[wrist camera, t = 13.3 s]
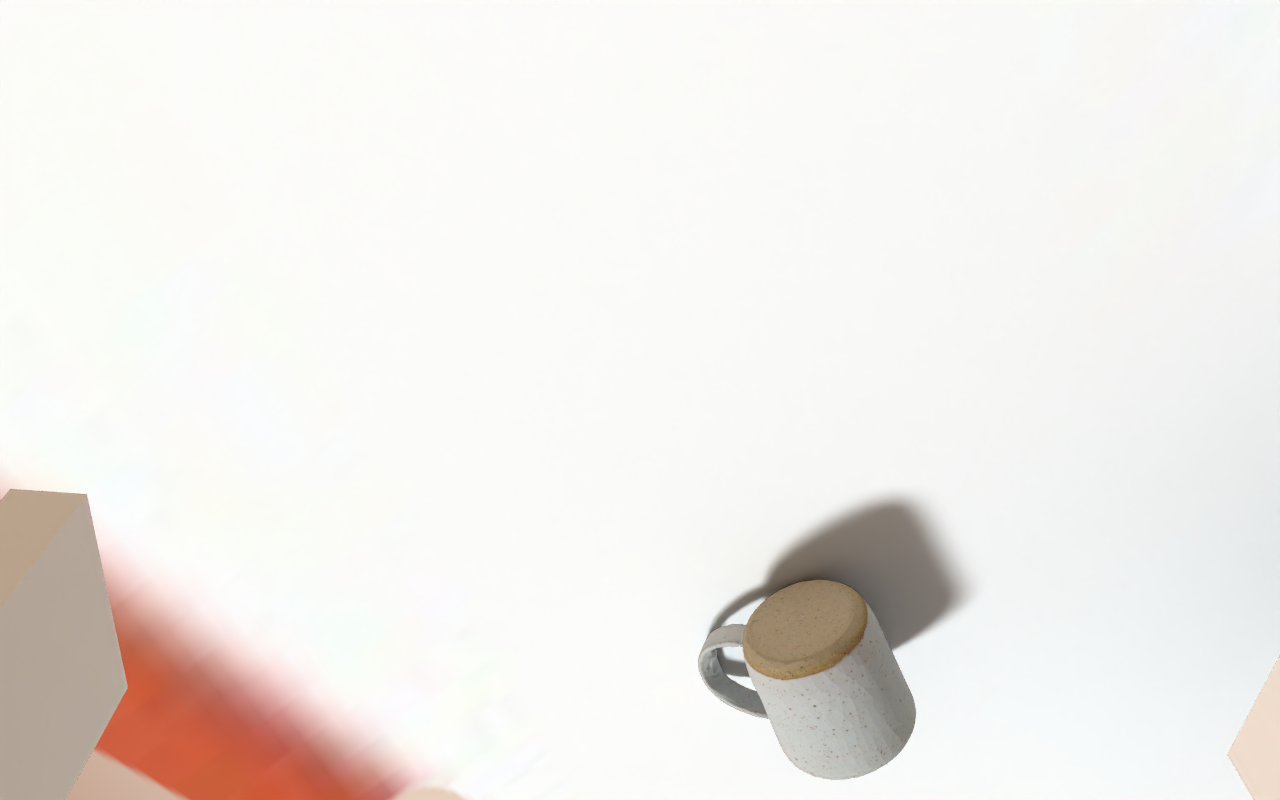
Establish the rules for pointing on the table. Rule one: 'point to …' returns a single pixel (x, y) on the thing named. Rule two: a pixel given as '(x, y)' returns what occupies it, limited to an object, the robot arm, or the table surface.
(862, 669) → the ceramic mug
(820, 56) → the table surface
